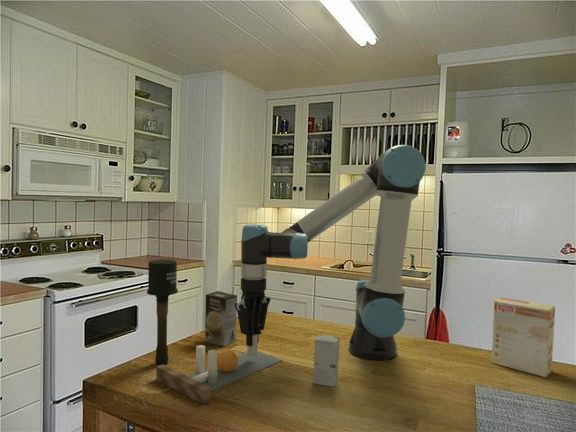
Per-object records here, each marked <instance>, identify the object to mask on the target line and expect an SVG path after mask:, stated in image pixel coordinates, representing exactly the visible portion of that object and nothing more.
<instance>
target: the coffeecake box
mask: <svg viewBox="0 0 576 432" xmlns="http://www.w3.org/2000/svg"><path fill="white" fill-rule="evenodd" d="M555 314H556V305H555V306H554V305H549V304H542V303H538V302H537V303H536V302H531V301H525V300H519V299H513V298H508V297H500V298H498V299H495V300H494V303H493V323H492V324H493V325H492V346H491V364H495V365H499V366H502V367H506V368H510V369H514V370H517V371H521V372H525V373H529V374H532V375H536V376H539V377H543V378H547V377H548V376H549V375H550V374H551V372H552V370H553V369H552V367H553V355H554V354H553V352H554V333H555V316H556V315H555Z"/></svg>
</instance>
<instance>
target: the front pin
mask: <svg viewBox="0 0 576 432" xmlns="http://www.w3.org/2000/svg"><path fill="white" fill-rule="evenodd" d="M217 376H218V373H217ZM191 378H192V379H194V380H196V381H198V382H200V383H204V382H206V381H208V371H206V372H204V373H201V374H199V375H196V376H193V377H191Z"/></svg>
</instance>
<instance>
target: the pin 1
mask: <svg viewBox="0 0 576 432" xmlns="http://www.w3.org/2000/svg"><path fill="white" fill-rule="evenodd" d="M205 368H206V346H205V345H202V344H200V345H196V346H195V372H196V375H199V374H201V373H204V372H205Z"/></svg>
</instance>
